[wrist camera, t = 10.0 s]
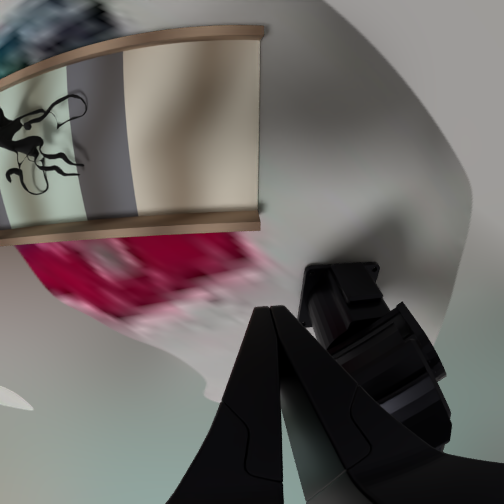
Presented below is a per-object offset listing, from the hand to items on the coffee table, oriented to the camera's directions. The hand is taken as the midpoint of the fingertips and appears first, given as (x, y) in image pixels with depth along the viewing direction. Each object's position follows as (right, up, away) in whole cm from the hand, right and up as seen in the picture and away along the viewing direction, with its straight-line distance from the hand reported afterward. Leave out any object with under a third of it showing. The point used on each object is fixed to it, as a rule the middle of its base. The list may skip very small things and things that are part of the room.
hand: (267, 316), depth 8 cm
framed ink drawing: (-12, +9, +7) cm, 17 cm away
